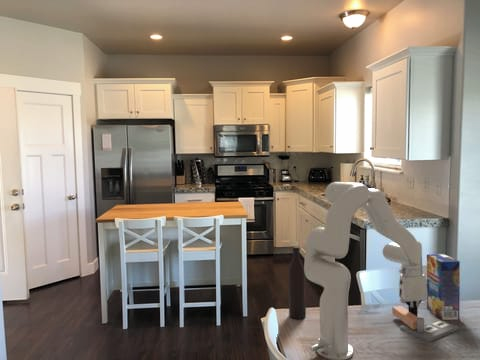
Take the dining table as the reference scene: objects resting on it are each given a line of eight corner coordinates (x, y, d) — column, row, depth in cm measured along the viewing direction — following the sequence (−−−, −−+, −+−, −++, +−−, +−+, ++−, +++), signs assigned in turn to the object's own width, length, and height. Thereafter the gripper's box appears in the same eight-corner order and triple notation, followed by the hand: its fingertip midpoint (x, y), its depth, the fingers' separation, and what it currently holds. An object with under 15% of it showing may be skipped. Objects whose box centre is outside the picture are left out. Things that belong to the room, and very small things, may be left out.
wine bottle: (306, 313, 162) (305, 245, 161) (305, 320, 155) (303, 249, 154) (290, 312, 164) (288, 245, 162) (288, 319, 157) (286, 248, 155)
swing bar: (422, 328, 141) (422, 320, 141) (413, 329, 141) (413, 321, 141) (401, 312, 156) (401, 305, 156) (392, 313, 155) (392, 306, 155)
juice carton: (459, 319, 152) (459, 261, 151) (441, 319, 152) (441, 262, 151) (443, 307, 164) (443, 254, 163) (426, 308, 164) (426, 254, 163)
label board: (428, 341, 135) (428, 324, 134) (400, 329, 145) (399, 313, 145) (458, 329, 143) (458, 313, 143) (429, 318, 154) (429, 303, 153)
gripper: (400, 276, 145) (401, 321, 146) (435, 272, 147) (436, 317, 148) (389, 270, 152) (390, 313, 153) (423, 266, 154) (424, 309, 155)
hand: (413, 315), depth 151 cm, fingers closed
